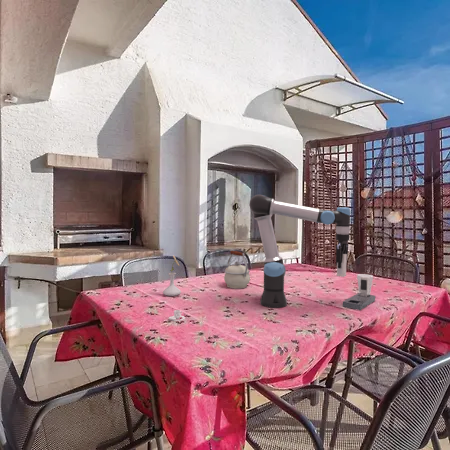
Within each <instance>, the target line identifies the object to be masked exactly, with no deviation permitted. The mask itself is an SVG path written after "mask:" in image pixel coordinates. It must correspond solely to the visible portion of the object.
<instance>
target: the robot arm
mask: <svg viewBox="0 0 450 450" xmlns="http://www.w3.org/2000/svg"><path fill="white" fill-rule="evenodd" d="M248 206H249V209H250V210H251V211H252V215H253V217H254V218H253V219H254V220H256V221H257V225H258V229H259V230H258V231H259V235H260V239H261V243H262V248H263V252H264V258H265V259H264V260H263V264H264V265H263V266H264V267H263V292H262V294H261V298H260V299H259V300H260V303H259V304H260V305H261V306H263V307H267V308H276V309H277V308H278V309H280V308H284V307H286V306H287V305H288V303H287V297H286V294H285V276H286V266H285V263H284V259H283V257H282V256H281V255H280V253H279V248H278V243H277V239H276V235H275V229H274V225H273V221H272V216H273V215H278V216H283V217H289V218H293V219H299V220H303V221H309V222H314V223H316V224H323V225H326V226H327V225H331V224H336V226H335V229H336V230H335V233H336V234H335V240H336V241H338V243H337V244H336V245H335V248H336V249H335V250H336V251H335V253H336V254H335V257H336V258H335V263H336V262H337V263H338V270H337V269H336V274H337V273H338V274H342V270H343V263H342V258H343V254H347V260H348V258H349V257H348V256H349V255H348V253H349V243H347V242H349V241H350V231H351V209H350V207H339V206H338V207H337V208H336V210H326V209H320V208H316V207H310V206H306V205H305V206H304V205H300V204H294V203H289V202H283V201H278V200H275V199H274V198H272V197H268V196H267V195H263V194H255V195H254V196H252V197H251V198H250V200H249V204H248Z"/></svg>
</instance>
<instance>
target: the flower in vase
mask: <svg viewBox="0 0 450 450" xmlns="http://www.w3.org/2000/svg"><path fill="white" fill-rule="evenodd" d="M172 256H173V259H174V261H173V264H172V266H171V269H170V270H169V271H170V272H169V273H167V275H168V276H169V285H168V286H167V287H165V289H164V290H162V294H164V295H165V296H172V297H174V296H178V295H180V294H181V293H182V291H181V289H180V288H178V287H177V286H176V285H175V276H176V274H177V273H176V272H173V271H175V268H174V264H175V263H176V265H177V266H178V267H180V263H179V260H177V258H176V256H175V255H174V254H173V255H172Z"/></svg>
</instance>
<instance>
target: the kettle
mask: <svg viewBox="0 0 450 450" xmlns="http://www.w3.org/2000/svg"><path fill="white" fill-rule="evenodd" d="M229 253H230V256H229V258H228V260H227V267H226V268H225V270H224V276H223V279H224V282H225V284H226V287H227V288H230V289H235V290H237V289H245V288H247V287H248V285H249V283H250V281H251V277H250V270H249V269H248V264H247V261H246V259H245V256H246V254H245V252H241V251H236V250H235V251H234V250H230V252H229ZM233 255H235V256H238V257H239V256H240V257H242V261H243V263H244V265H242V264H241V263H240V262H239V261H238V260H237V261H235V262H234V264H232V265H230V261H231V260H232V257H233Z"/></svg>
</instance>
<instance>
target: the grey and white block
mask: <svg viewBox="0 0 450 450" xmlns="http://www.w3.org/2000/svg"><path fill="white" fill-rule="evenodd" d="M369 285H370V278H369V277H361V285H360V293H359V292H358V293H355V294H354V295H352V296H350V297H348V298H347V299H344V300H343V301H342V307H343V308H346V307H347V309H351V308H352V309H353V310H356V309H357V311H362V310H363V309H365V308H367V307H368V306H369V305H371V304H372V303H374V302H375V301H376V295H374V294H370V295H369ZM367 305H368V306H367Z"/></svg>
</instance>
